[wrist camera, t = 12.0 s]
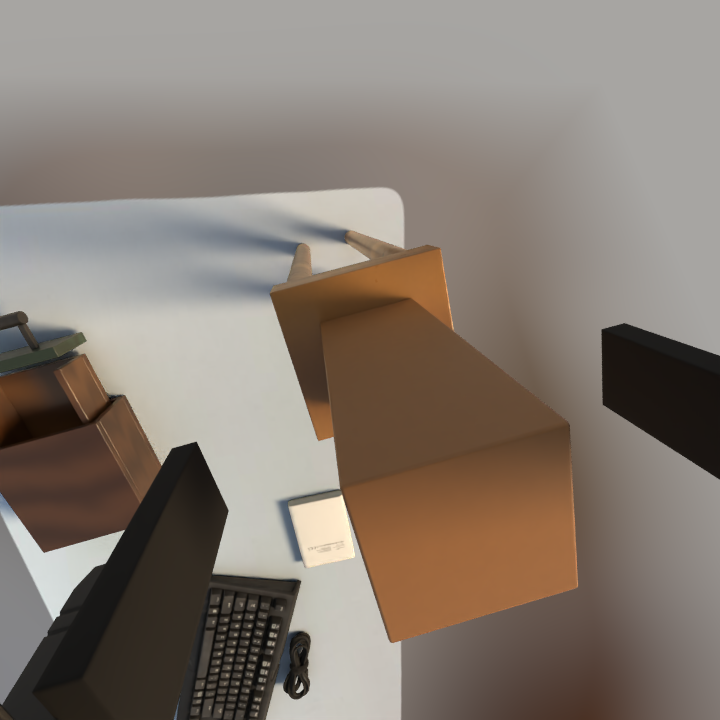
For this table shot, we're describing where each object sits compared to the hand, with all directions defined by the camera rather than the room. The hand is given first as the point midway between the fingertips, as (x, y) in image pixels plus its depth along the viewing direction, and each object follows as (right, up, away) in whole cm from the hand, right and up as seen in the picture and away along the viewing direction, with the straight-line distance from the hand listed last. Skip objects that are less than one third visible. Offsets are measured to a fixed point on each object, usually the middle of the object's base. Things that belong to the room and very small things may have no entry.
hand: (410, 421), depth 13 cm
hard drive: (-8, -24, +50) cm, 56 cm away
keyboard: (-20, -50, +58) cm, 79 cm away
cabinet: (-37, -11, +41) cm, 56 cm away
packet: (-1, +2, +7) cm, 7 cm away
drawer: (-39, -1, +36) cm, 53 cm away
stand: (-5, +13, +36) cm, 39 cm away
